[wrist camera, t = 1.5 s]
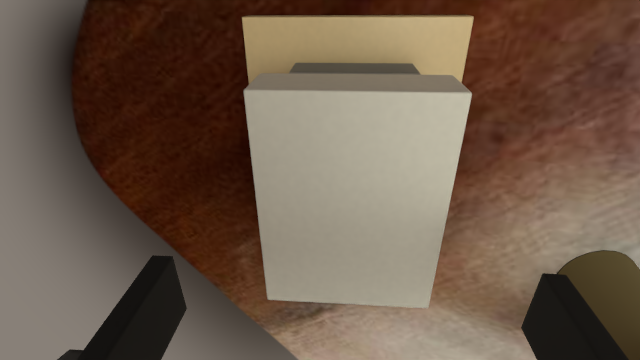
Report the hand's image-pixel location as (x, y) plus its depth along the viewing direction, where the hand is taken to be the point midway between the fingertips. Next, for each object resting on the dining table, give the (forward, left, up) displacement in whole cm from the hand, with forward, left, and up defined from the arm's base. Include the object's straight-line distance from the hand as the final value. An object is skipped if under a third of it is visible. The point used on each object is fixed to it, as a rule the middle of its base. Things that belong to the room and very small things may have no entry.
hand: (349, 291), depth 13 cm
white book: (0, 0, -8) cm, 8 cm away
